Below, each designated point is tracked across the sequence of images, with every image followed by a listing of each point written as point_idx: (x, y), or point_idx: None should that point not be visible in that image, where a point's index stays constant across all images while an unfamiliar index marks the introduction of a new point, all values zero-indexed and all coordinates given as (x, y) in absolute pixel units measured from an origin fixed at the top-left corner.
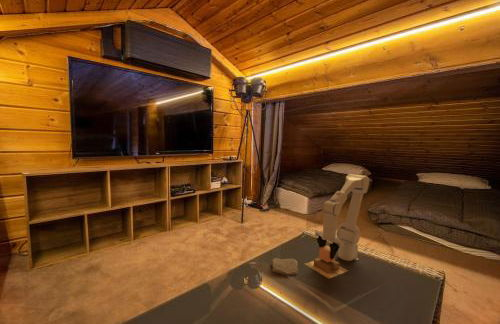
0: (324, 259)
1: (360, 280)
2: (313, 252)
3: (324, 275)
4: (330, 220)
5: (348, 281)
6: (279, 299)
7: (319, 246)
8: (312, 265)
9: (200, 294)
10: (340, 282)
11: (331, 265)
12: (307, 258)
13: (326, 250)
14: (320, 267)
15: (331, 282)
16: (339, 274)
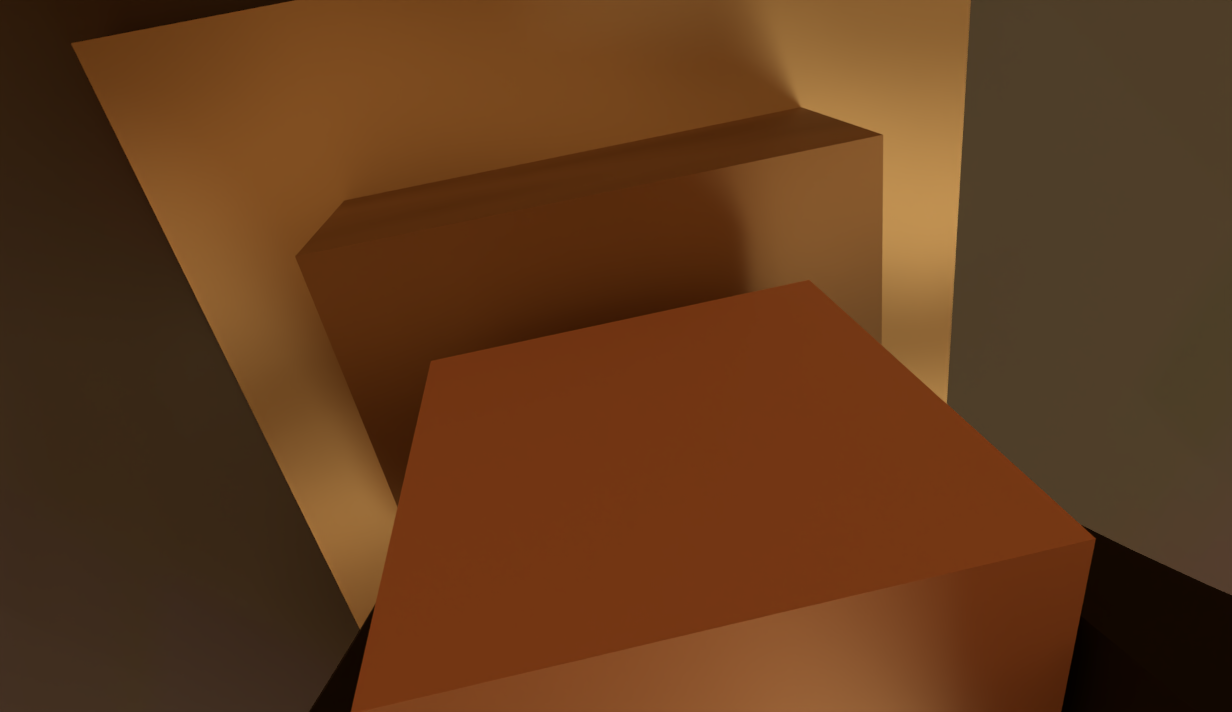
0: (575, 350)
1: (123, 676)
2: (1188, 489)
3: (255, 37)
4: None
5: (89, 477)
6: None
7: (1182, 592)
8: (803, 63)
9: None
10: (45, 297)
11: (377, 415)
12: (1124, 228)
13: (565, 685)
14: (582, 162)
15: (40, 74)
16: (270, 444)
